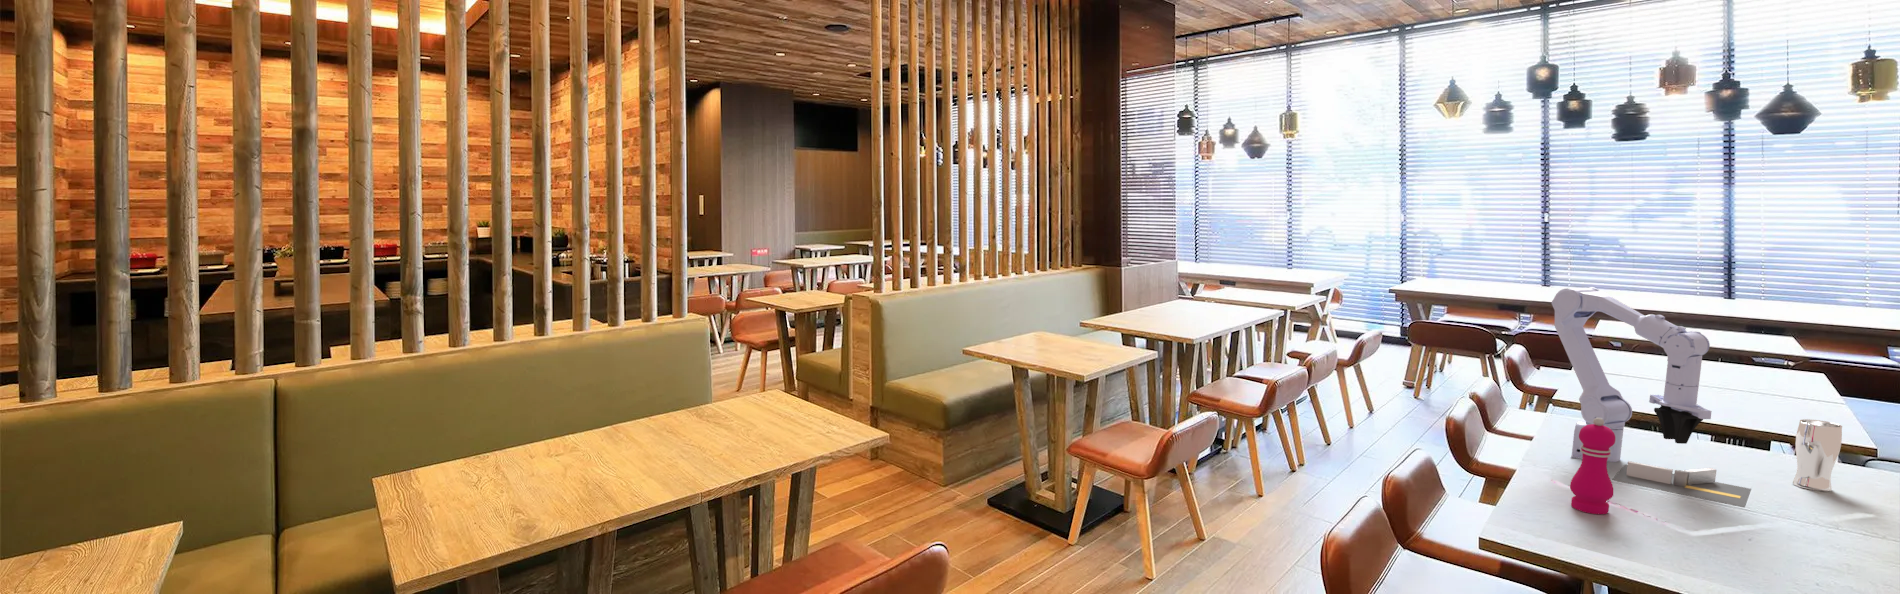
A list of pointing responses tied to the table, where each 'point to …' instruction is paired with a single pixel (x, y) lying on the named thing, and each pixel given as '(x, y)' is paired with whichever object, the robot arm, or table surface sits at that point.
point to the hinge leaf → (1701, 476)
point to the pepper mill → (1593, 470)
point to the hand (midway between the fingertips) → (1675, 440)
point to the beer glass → (1816, 453)
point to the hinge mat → (1690, 491)
